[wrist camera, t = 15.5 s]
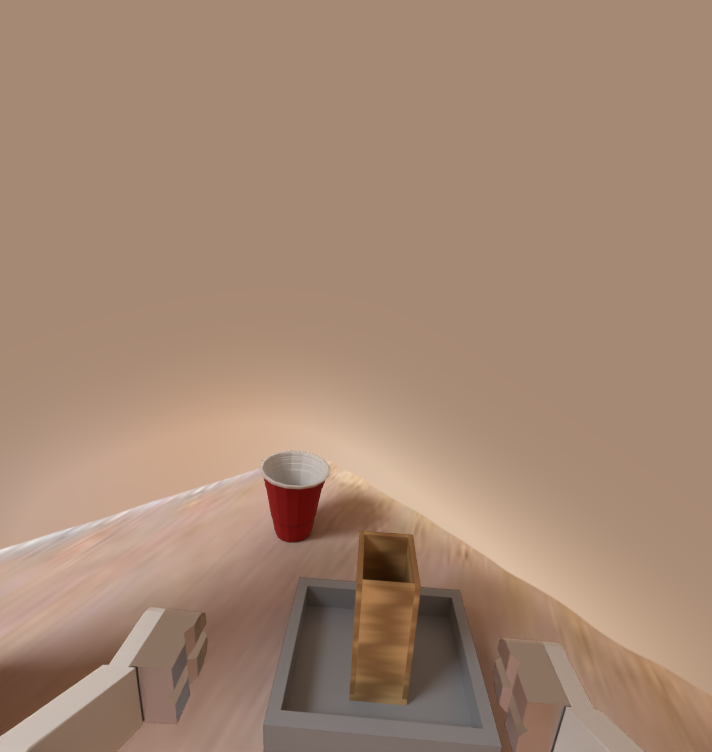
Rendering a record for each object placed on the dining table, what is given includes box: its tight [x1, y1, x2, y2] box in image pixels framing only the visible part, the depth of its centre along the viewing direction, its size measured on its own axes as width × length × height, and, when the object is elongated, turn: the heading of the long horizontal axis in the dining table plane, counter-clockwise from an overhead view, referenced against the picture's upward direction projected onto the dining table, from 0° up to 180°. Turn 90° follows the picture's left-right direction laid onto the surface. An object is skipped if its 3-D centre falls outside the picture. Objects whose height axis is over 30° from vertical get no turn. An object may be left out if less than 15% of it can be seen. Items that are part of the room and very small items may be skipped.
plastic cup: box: [260, 451, 330, 542], centre depth 60 cm, size 11×11×12 cm
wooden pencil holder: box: [349, 531, 421, 706], centre depth 38 cm, size 6×7×14 cm
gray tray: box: [263, 577, 502, 752], centre depth 40 cm, size 20×16×4 cm
